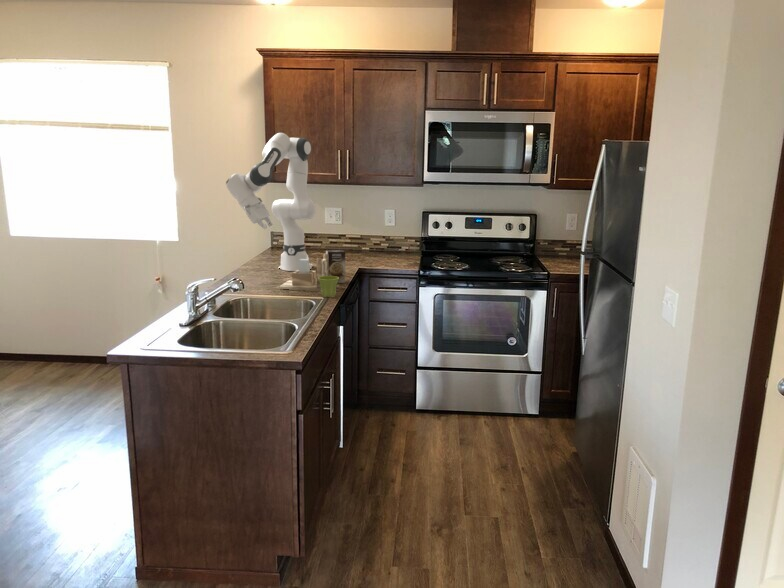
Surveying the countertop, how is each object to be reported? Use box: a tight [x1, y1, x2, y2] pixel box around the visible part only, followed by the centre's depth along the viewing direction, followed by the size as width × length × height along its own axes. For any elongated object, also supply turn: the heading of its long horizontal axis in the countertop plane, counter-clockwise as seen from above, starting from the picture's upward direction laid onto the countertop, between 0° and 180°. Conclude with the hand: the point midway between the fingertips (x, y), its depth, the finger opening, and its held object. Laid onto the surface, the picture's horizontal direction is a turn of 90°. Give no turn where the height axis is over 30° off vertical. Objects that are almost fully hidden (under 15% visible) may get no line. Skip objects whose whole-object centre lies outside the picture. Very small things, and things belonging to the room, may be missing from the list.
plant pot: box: [318, 276, 339, 298], centre depth 281 cm, size 9×9×9 cm
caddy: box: [279, 253, 328, 292], centre depth 299 cm, size 16×20×16 cm
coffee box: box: [325, 249, 346, 284], centre depth 312 cm, size 9×6×16 cm
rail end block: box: [299, 258, 310, 273], centre depth 299 cm, size 4×4×12 cm
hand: (268, 227), depth 302 cm, fingers open, 8 cm apart
